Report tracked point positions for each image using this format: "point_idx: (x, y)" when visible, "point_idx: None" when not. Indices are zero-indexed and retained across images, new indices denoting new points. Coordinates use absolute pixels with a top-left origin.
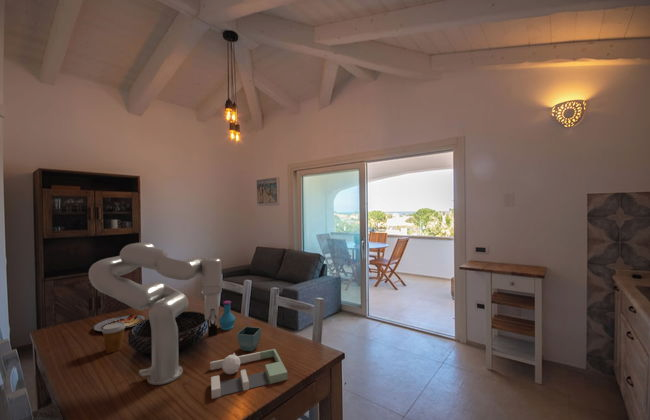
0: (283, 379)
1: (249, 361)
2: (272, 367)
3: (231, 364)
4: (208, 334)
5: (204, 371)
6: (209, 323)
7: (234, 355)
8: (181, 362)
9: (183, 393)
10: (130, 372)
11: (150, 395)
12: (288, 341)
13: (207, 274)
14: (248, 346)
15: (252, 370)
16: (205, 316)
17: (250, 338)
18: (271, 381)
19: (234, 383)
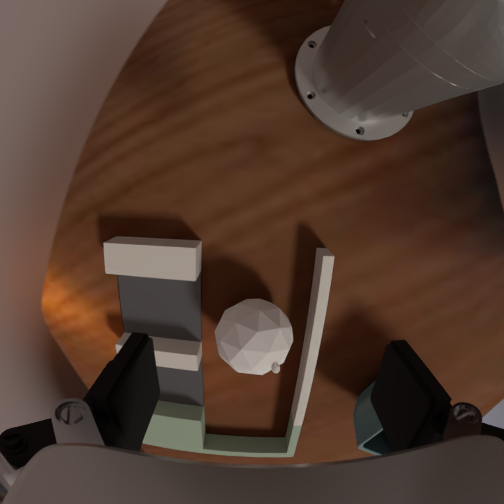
0: None
1: (296, 382)
2: (175, 429)
3: (218, 340)
4: (125, 342)
5: (319, 223)
6: (56, 433)
7: (251, 369)
8: (432, 146)
9: (191, 140)
10: None
11: (239, 36)
12: None
13: None
14: (367, 399)
15: (232, 379)
16: (12, 489)
17: (365, 429)
18: None
19: (169, 317)
